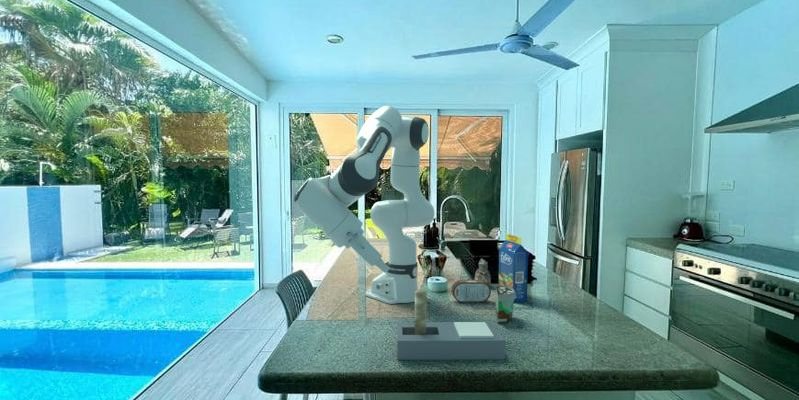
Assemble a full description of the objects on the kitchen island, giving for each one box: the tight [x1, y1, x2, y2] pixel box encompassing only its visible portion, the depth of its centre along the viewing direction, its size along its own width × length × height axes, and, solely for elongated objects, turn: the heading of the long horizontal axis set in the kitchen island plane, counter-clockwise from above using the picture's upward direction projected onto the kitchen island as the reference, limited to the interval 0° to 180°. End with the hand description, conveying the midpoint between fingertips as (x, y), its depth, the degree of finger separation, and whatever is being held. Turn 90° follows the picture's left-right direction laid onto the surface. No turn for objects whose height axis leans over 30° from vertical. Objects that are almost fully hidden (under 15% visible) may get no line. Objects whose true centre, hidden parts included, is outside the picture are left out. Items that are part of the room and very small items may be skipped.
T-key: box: [414, 289, 428, 335], centre depth 96 cm, size 8×3×16 cm, turn 91°
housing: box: [396, 321, 506, 361], centre depth 96 cm, size 28×12×6 cm, turn 91°
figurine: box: [474, 258, 492, 288], centre depth 154 cm, size 7×7×12 cm
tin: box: [450, 279, 492, 303], centre depth 134 cm, size 15×3×8 cm, turn 92°
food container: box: [495, 284, 516, 325], centre depth 117 cm, size 12×6×10 cm, turn 168°
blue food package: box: [498, 232, 529, 303], centre depth 139 cm, size 6×12×25 cm, turn 10°
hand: (383, 266), depth 93 cm, fingers open, 8 cm apart
